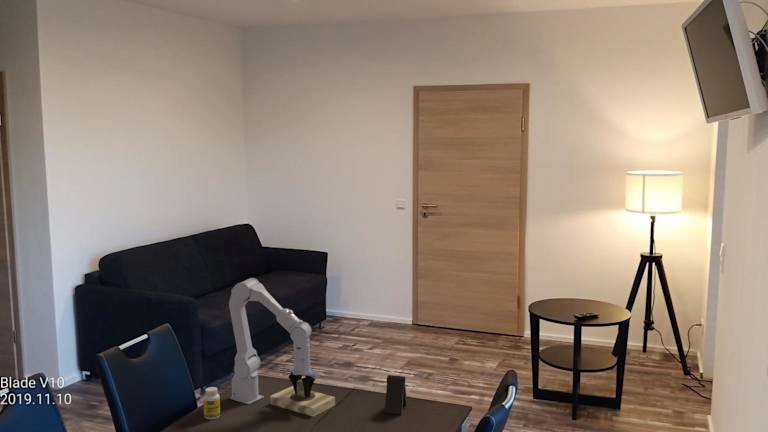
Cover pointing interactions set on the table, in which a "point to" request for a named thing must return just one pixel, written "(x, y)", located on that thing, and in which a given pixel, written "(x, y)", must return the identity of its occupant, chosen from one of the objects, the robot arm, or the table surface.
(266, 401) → the table surface
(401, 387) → the phone stand
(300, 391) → the green peg
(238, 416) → the table surface
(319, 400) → the socket board
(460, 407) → the table surface
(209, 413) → the supplement bottle
